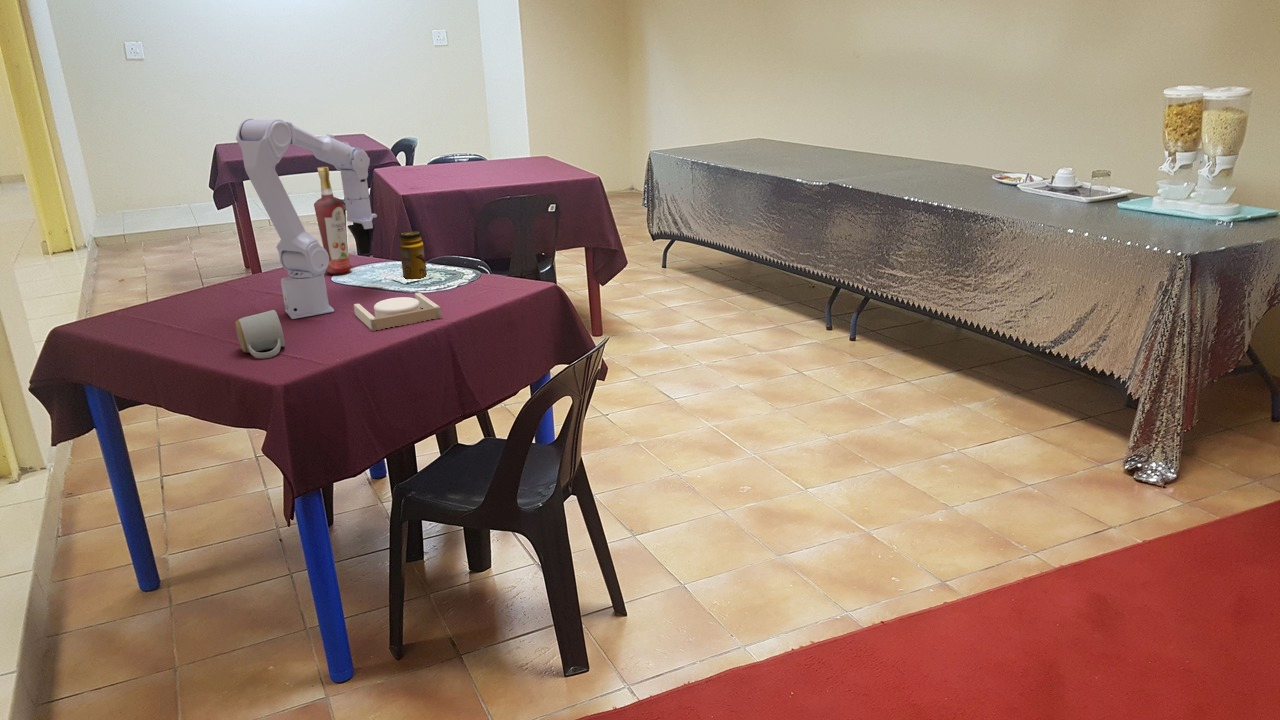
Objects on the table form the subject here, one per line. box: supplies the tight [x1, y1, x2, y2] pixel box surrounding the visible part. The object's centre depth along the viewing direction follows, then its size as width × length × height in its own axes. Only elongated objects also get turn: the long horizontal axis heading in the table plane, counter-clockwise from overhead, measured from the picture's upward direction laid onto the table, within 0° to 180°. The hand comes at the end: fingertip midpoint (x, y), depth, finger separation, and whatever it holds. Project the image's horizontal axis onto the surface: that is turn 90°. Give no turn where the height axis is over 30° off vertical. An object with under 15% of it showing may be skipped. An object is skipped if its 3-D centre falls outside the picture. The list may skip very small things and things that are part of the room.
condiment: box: [399, 230, 428, 279], centre depth 230 cm, size 7×8×12 cm
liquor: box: [313, 166, 353, 276], centre depth 236 cm, size 7×7×28 cm
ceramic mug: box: [234, 309, 286, 360], centre depth 181 cm, size 11×8×8 cm
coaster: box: [373, 296, 421, 318], centre depth 201 cm, size 10×10×4 cm
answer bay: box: [353, 292, 443, 332], centre depth 201 cm, size 15×15×2 cm
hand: (365, 253), depth 220 cm, fingers closed
